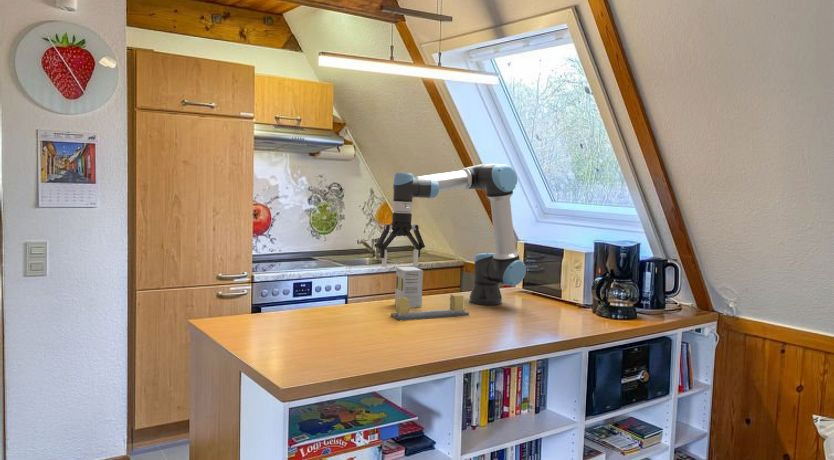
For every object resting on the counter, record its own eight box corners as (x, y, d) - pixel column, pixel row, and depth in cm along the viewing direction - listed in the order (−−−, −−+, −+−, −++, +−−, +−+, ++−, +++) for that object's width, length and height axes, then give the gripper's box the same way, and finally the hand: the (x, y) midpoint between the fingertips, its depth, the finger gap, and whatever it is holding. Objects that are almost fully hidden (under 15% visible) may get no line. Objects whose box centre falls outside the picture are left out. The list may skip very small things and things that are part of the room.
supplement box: (394, 304, 282) (395, 267, 281) (413, 303, 286) (414, 266, 285) (402, 308, 274) (404, 270, 272) (422, 307, 278) (423, 269, 276)
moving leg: (392, 312, 258) (393, 295, 258) (401, 312, 260) (402, 295, 259) (399, 316, 252) (400, 299, 251) (408, 315, 254) (409, 298, 253)
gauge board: (390, 316, 259) (391, 295, 258) (458, 311, 273) (459, 292, 272) (399, 320, 251) (399, 299, 250) (468, 315, 265) (469, 295, 264)
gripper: (376, 212, 239) (374, 268, 240) (434, 213, 250) (432, 266, 252) (369, 211, 245) (366, 265, 247) (426, 212, 257) (423, 264, 258)
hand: (399, 266), depth 249 cm, fingers open, 13 cm apart
